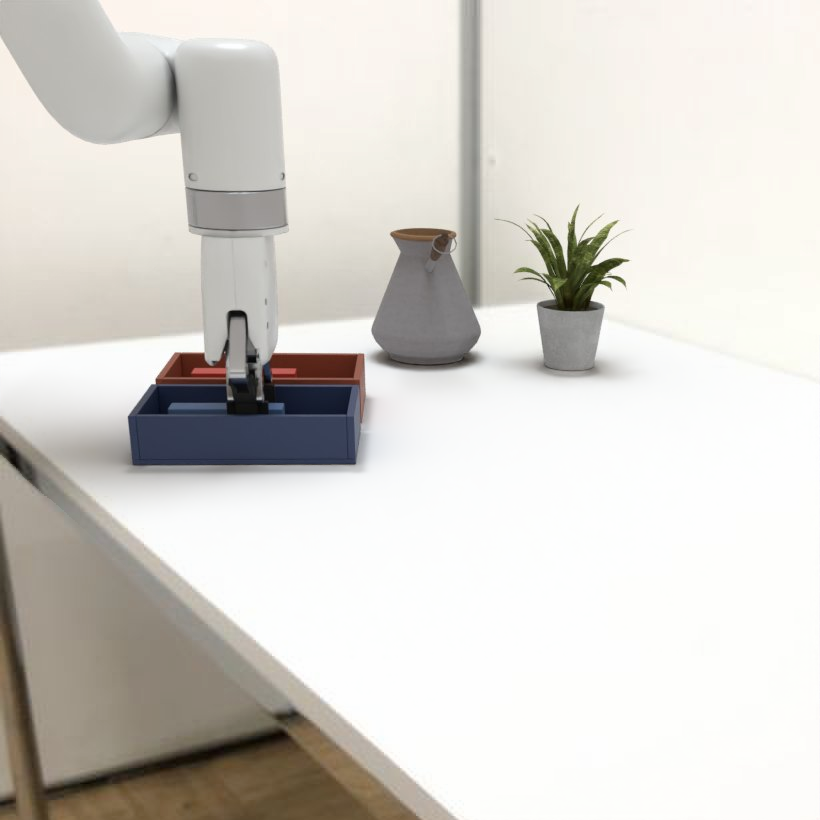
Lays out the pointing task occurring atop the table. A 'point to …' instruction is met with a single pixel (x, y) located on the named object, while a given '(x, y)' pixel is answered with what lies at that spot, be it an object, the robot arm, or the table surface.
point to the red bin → (307, 364)
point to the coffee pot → (425, 302)
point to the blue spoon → (215, 408)
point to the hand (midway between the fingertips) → (254, 438)
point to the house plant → (571, 296)
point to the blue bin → (247, 427)
